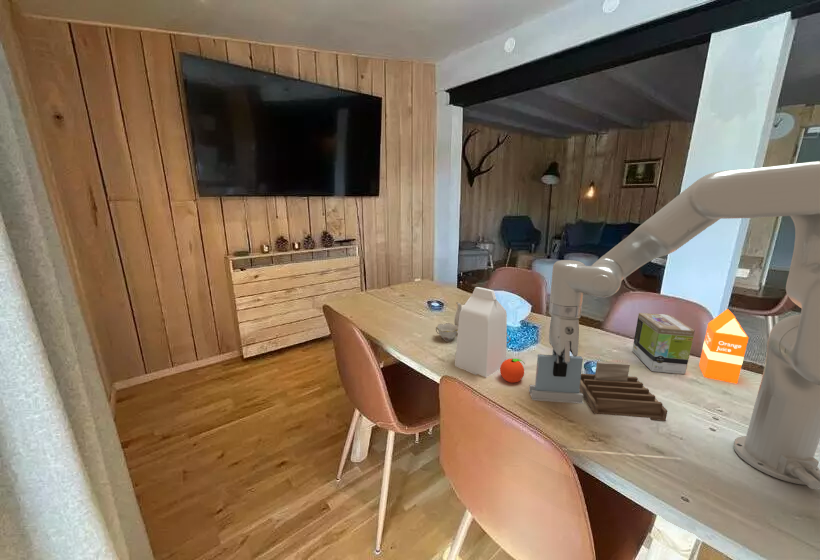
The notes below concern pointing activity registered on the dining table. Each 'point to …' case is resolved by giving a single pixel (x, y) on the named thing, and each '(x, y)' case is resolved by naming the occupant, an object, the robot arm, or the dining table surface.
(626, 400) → the rack
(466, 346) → the milk
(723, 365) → the orange juice
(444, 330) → the chinaware
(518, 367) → the clementine
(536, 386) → the grey upright panel
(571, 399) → the stand
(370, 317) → the dining table surface
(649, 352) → the tea box
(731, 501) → the dining table surface
